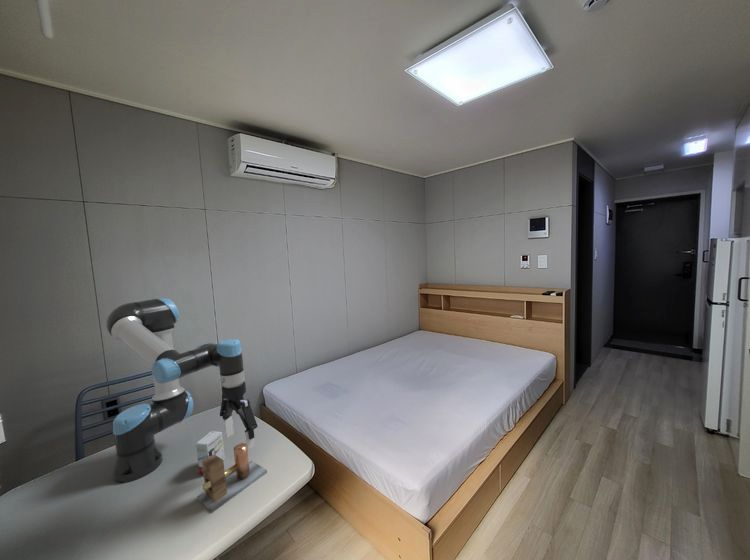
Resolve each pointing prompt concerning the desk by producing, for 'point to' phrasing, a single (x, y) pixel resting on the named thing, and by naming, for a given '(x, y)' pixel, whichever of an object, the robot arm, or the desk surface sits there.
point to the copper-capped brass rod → (237, 464)
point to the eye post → (224, 482)
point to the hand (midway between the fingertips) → (240, 441)
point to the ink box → (210, 447)
